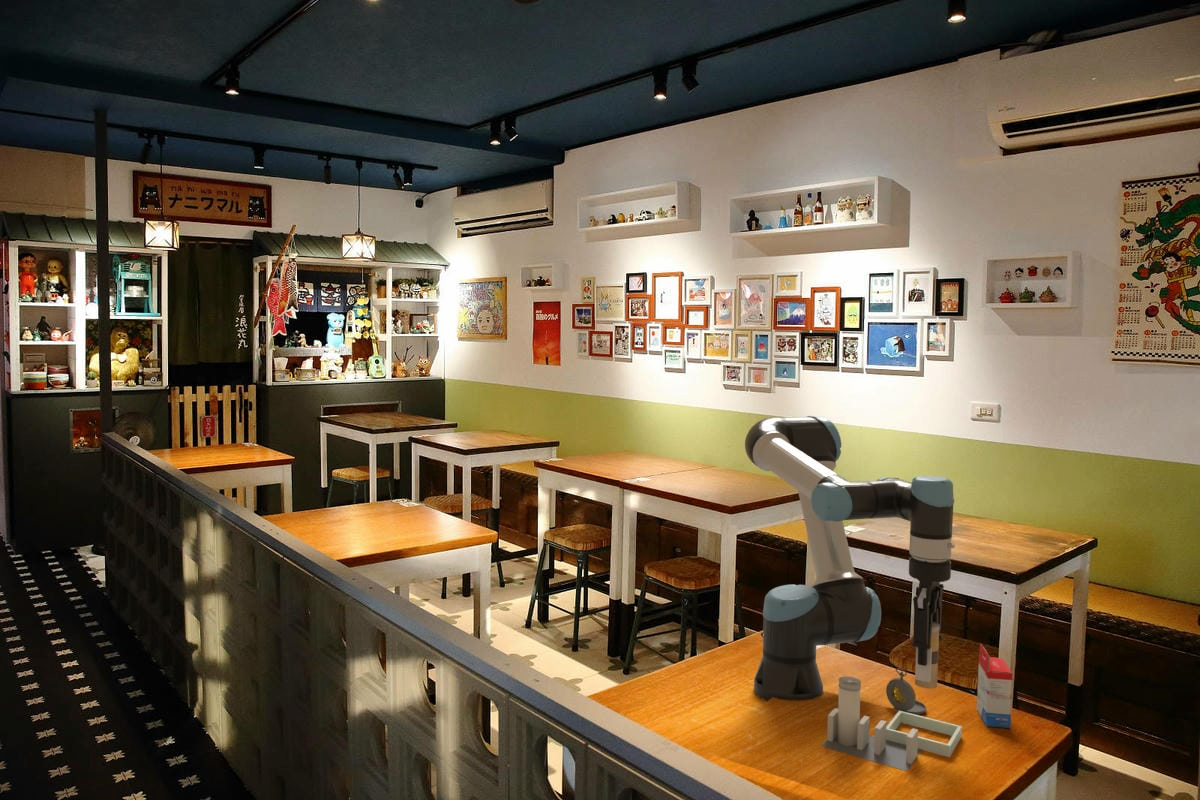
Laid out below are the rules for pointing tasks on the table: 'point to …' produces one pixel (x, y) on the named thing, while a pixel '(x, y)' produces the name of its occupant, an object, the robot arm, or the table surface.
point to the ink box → (994, 690)
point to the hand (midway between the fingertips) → (926, 676)
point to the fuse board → (874, 744)
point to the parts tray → (929, 725)
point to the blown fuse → (934, 659)
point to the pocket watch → (903, 696)
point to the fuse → (848, 710)
